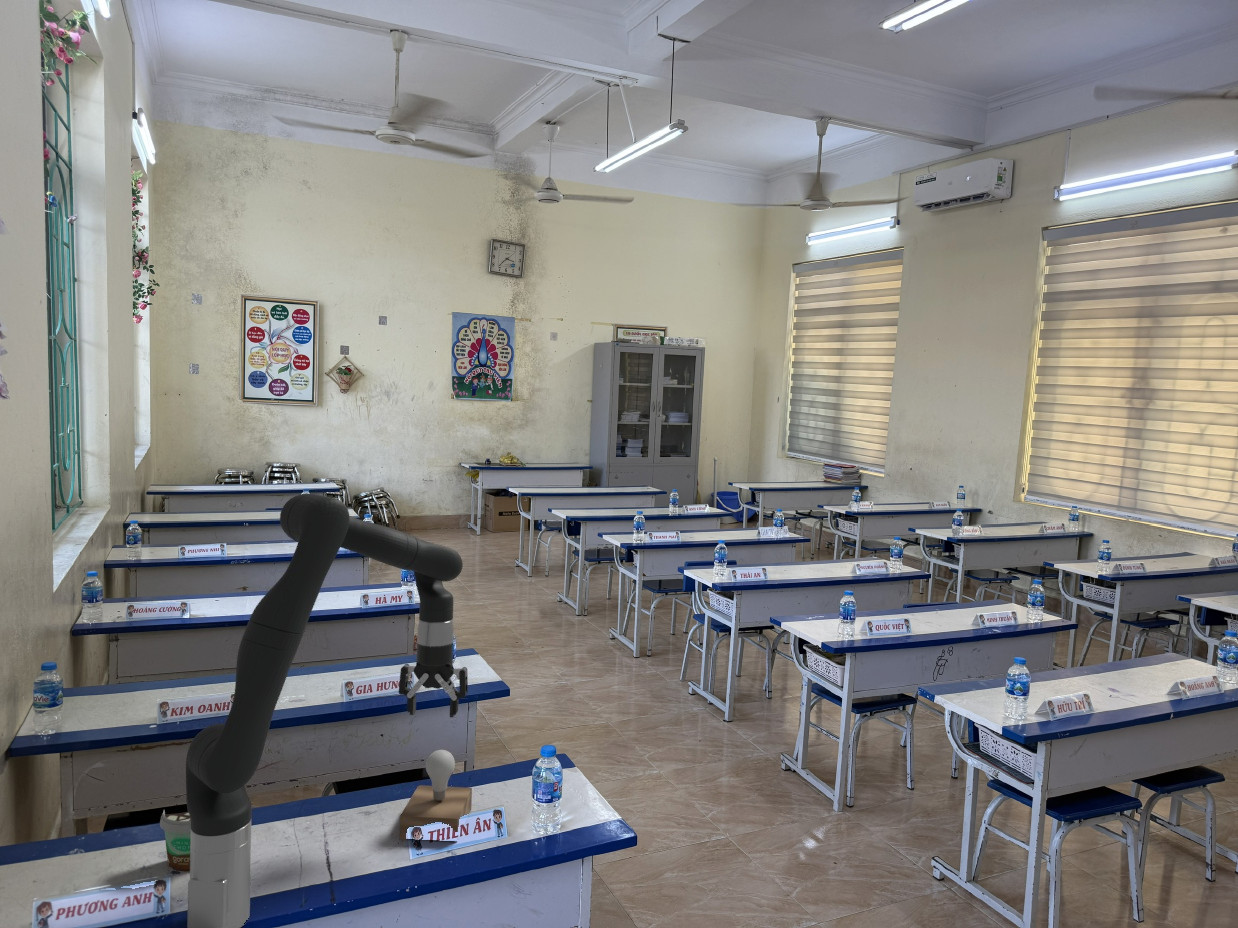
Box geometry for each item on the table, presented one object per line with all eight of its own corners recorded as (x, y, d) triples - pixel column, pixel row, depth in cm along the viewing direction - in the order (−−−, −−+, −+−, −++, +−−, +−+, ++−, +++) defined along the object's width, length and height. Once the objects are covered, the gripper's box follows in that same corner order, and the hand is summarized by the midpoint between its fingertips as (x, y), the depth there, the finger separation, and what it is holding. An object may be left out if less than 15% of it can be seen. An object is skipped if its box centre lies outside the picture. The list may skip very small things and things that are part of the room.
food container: (150, 878, 146) (151, 825, 145) (160, 860, 152) (160, 809, 151) (223, 870, 149) (224, 819, 149) (230, 853, 155) (231, 803, 155)
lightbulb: (422, 795, 171) (424, 746, 171) (451, 791, 174) (452, 743, 173) (426, 809, 166) (428, 758, 165) (455, 805, 168) (457, 755, 167)
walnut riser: (457, 842, 162) (457, 818, 162) (399, 839, 163) (399, 815, 163) (471, 809, 176) (471, 787, 176) (418, 806, 177) (418, 785, 176)
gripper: (396, 642, 164) (394, 719, 164) (464, 646, 163) (461, 723, 164) (407, 633, 171) (404, 707, 172) (472, 637, 171) (469, 710, 172)
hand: (432, 715), depth 168 cm, fingers open, 8 cm apart
